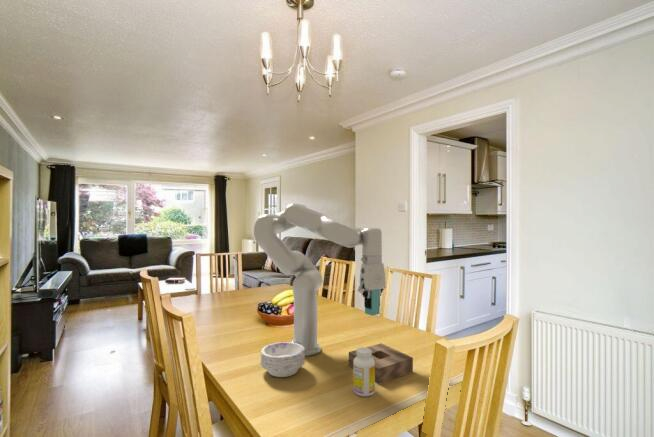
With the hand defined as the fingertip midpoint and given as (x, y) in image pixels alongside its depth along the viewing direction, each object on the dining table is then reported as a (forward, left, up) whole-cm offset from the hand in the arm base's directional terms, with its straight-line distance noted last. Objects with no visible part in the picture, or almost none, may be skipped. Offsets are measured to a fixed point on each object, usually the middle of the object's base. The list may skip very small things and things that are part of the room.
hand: (372, 306), depth 128 cm
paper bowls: (-35, +8, -20) cm, 40 cm away
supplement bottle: (-20, -18, -20) cm, 33 cm away
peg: (0, 0, -3) cm, 3 cm away
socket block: (-5, -9, -19) cm, 22 cm away
